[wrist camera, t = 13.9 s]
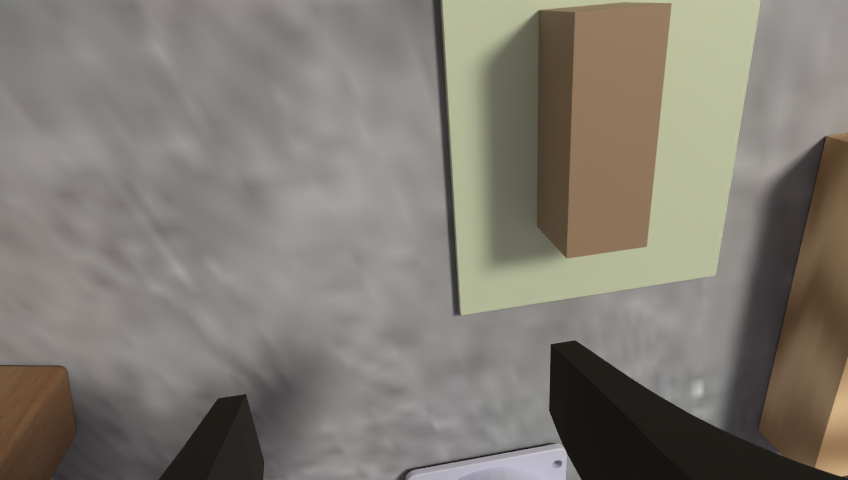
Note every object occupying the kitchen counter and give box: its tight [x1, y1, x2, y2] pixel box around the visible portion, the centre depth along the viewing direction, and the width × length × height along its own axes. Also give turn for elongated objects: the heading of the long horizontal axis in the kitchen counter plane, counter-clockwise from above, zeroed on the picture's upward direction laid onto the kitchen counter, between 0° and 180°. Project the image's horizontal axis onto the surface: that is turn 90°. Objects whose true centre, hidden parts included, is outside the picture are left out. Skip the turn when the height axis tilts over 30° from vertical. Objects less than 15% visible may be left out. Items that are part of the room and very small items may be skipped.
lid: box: [440, 0, 761, 315], centre depth 20 cm, size 15×12×4 cm
